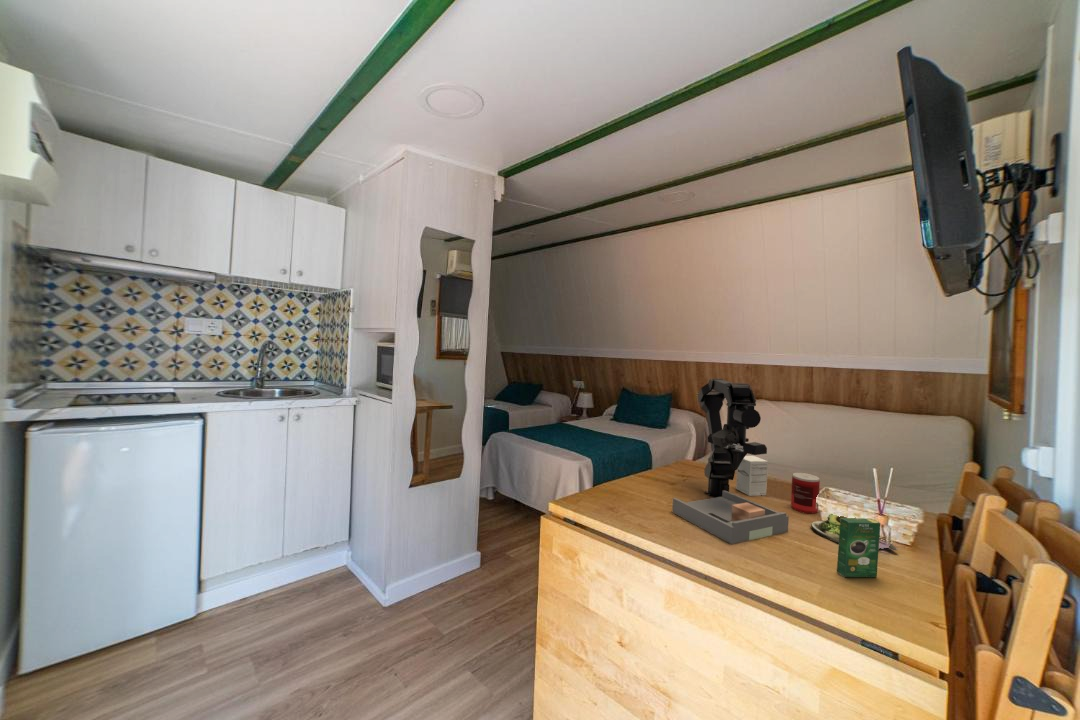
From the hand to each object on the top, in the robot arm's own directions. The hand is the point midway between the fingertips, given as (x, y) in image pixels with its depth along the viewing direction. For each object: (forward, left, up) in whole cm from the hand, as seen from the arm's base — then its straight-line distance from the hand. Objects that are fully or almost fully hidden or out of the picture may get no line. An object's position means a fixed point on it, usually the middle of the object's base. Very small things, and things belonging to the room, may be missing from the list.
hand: (734, 469), depth 137 cm
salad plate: (+26, +16, -14) cm, 33 cm away
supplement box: (-10, +20, -13) cm, 26 cm away
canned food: (+8, +23, -13) cm, 28 cm away
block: (+14, -10, -10) cm, 20 cm away
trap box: (+6, -9, -13) cm, 17 cm away
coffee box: (+40, -5, -13) cm, 42 cm away
